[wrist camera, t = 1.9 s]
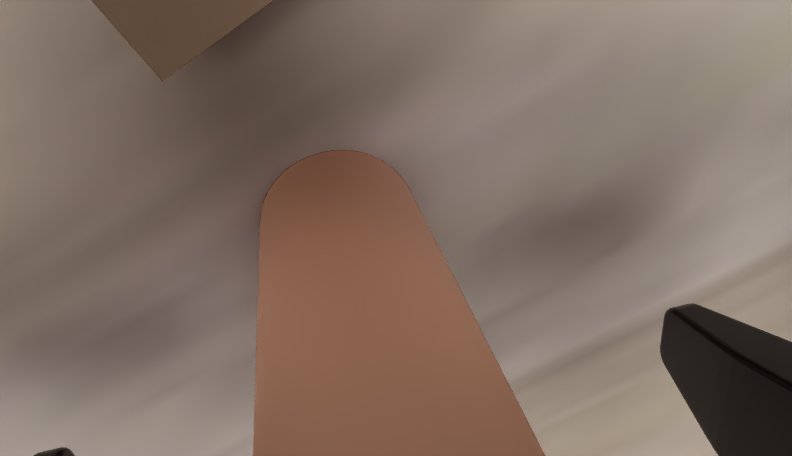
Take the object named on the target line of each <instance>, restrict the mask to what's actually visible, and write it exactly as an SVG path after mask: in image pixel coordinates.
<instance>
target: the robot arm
mask: <svg viewBox="0 0 792 456" xmlns="http://www.w3.org/2000/svg"><path fill="white" fill-rule="evenodd" d="M660 353H661V357H662V360H663V363H664V365H665V367H666V368H667V370H668V372H669V373H670V375H671V377H672V379H673V380H674V382H675V384H676V385H677V387H678V389H679V391H680V392H681V394H682V396H683V398H684V399H685V401H686V403H687V404H688V406H689V408H690V410H691V411H692V413H693V415H694V416H695V418H696V420H697V422H698V423H699V425H700V427H701V428H702V430H703V432H704V434H705V435H706V437H707V439H708V440H709V442H710V443H711V445H712V447H713V448H714V450H715V451H716V453H717V454H718V455H719V456H792V342H790V341H788V340H785V339H783V338H780V337H778V336H775V335H773V334H770V333H768V332H765V331H763V330H760V329H757V328H755V327H752V326H750V325H747V324H745V323H742V322H740V321H737V320H735V319H732V318H730V317H727V316H725V315H722V314H720V313H717V312H715V311H712V310H710V309H707V308H705V307H702V306H700V305H697V304H685V305H681V306H677V307H672V308H670V309H668V310H667V311H666V313H665V315H664V322H663V329H662V337H661V345H660ZM34 456H75V455H74V454H73V452H72V451H71V450H70V449H68V448H63V447H62V448H57V449H53V450H48V451H44V452H40V453H37V454H35V455H34Z"/></svg>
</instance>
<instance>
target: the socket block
mask: <svg viewBox="0 0 792 456" xmlns="http://www.w3.org/2000/svg"><path fill="white" fill-rule="evenodd" d="M271 1H273V0H92V2H93V3H94V4H95V5H96V6H97V7H98V8H99V9H100V11H101V12H102V13H103V14H104V15H105V16H106V17H107V19H108V20H109V21H110V22H111V23H112V24H113V25H114V27H115V28H116V29H117V30H118V31H119V32H120V33H121V35H122V36H123V37H124V38H125V39H126V40H127V41H128V43H129V44H130V45H131V46H132V47H133V48H134V49H135V50H136V52H137V53H138V54H139V55H140V56H141V57H142V58H143V60H144V61H145V62H146V63H147V64H148V65H149V66H150V68H151V69H152V70H153V71H154V72H155V73H156V74H157V76H158V77H159V78H160V79H161V80H162V81H163V80H165V79H166V78H167V77H169V76H170V75H171V74H173V73H174V72H176V71H177V70H178V69H180V68H181V67H182V66H184V65H185V64H187V63H188V62H189V61H191V60H192V59H193V58H195V57H196V56H197V55H199V54H200V53H202V52H203V51H204V50H206V49H207V48H208V47H210V46H211V45H213V44H214V43H215V42H217V41H218V40H219V39H221V38H222V37H224V36H225V35H226V34H228V33H229V32H230V31H232V30H233V29H234V28H236V27H237V26H239V25H240V24H241V23H243V22H244V21H245V20H247V19H248V18H250V17H251V16H252V15H254V14H255V13H256V12H258V11H259V10H260V9H262V8H263V7H265V6H266V5H267V4H269V3H270V2H271Z"/></svg>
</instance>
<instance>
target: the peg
mask: <svg viewBox="0 0 792 456" xmlns="http://www.w3.org/2000/svg"><path fill="white" fill-rule="evenodd" d="M253 456H545V454H544V452H543V450H542V448H541V446H540V444H539V443H538V441H537V439H536V437H535V435H534V433H533V431H532V429H531V427H530V425H529V423H528V421H527V419H526V417H525V415H524V413H523V411H522V409H521V407H520V405H519V403H518V401H517V399H516V397H515V395H514V393H513V391H512V390H511V388H510V386H509V384H508V382H507V380H506V378H505V376H504V374H503V372H502V370H501V368H500V366H499V364H498V362H497V360H496V358H495V356H494V354H493V352H492V350H491V348H490V346H489V344H488V342H487V340H486V338H485V337H484V335H483V333H482V331H481V329H480V327H479V325H478V323H477V321H476V319H475V317H474V315H473V313H472V311H471V309H470V307H469V305H468V303H467V301H466V299H465V297H464V295H463V293H462V291H461V289H460V287H459V285H458V284H457V282H456V280H455V278H454V276H453V274H452V272H451V270H450V268H449V266H448V264H447V262H446V260H445V258H444V256H443V254H442V252H441V250H440V248H439V246H438V244H437V242H436V240H435V238H434V236H433V234H432V233H431V231H430V229H429V227H428V225H427V223H426V221H425V219H424V217H423V215H422V213H421V211H420V209H419V207H418V205H417V203H416V201H415V199H414V197H413V195H412V193H411V191H410V189H409V188H408V186H407V184H406V183H405V181H404V180H403V178H402V177H401V176H400V175H399V173H398V172H396V171H395V170H394V169H393V168H392V167H391V166H389V165H388V164H387V163H385V162H384V161H382V160H380V159H378V158H376V157H374V156H371V155H368V154H365V153H361V152H356V151H347V150H336V151H328V152H322V153H318V154H315V155H312V156H309V157H307V158H305V159H302V160H301V161H299V162H297V163H296V164H294V165H292V166H291V167H290V168H288V169H287V170H286V171H285V172H284V173H283V174H282V175H281V176H280V177H279V178H278V179H277V180H276V181H275V182H274V184H273V185H272V187H271V188H270V190H269V192H268V194H267V195H266V198H265V200H264V203H263V206H262V211H261V218H260V245H259V279H258V312H257V346H256V379H255V413H254V447H253Z"/></svg>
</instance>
